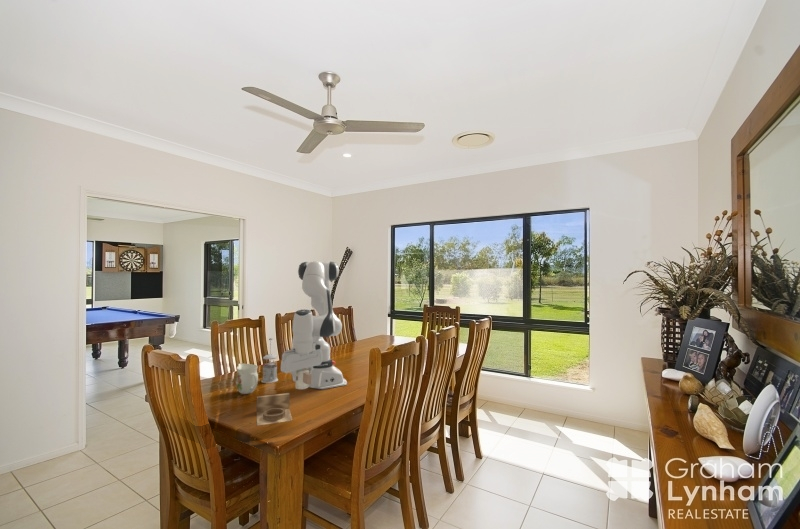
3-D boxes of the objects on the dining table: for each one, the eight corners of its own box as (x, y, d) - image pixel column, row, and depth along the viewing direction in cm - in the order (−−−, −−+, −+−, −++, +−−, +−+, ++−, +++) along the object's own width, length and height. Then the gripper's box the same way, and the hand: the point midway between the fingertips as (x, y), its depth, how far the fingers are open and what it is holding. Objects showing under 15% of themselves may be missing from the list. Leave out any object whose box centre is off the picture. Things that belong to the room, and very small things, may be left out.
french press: (276, 377, 216) (277, 336, 216) (281, 382, 206) (282, 339, 207) (259, 379, 210) (260, 337, 211) (263, 384, 201) (264, 340, 201)
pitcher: (246, 399, 178) (246, 371, 178) (229, 391, 189) (229, 365, 190) (266, 393, 186) (266, 367, 187) (248, 386, 198) (249, 361, 198)
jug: (293, 386, 155) (293, 369, 156) (304, 384, 159) (305, 367, 159) (303, 392, 148) (303, 374, 148) (315, 390, 152) (315, 372, 152)
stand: (288, 410, 164) (289, 392, 165) (292, 424, 150) (292, 404, 150) (256, 414, 159) (256, 396, 159) (256, 429, 144) (257, 409, 144)
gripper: (287, 352, 145) (286, 386, 145) (324, 344, 162) (324, 375, 162) (277, 350, 149) (277, 383, 149) (315, 342, 166) (314, 372, 165)
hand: (301, 378), depth 155 cm, fingers closed on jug, 6 cm apart
